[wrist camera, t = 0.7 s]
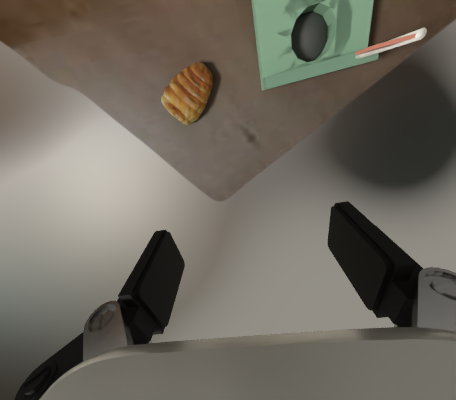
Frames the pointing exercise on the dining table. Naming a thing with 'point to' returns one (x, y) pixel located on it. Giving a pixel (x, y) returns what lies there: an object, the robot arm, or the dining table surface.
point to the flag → (392, 43)
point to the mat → (309, 37)
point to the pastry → (188, 93)
